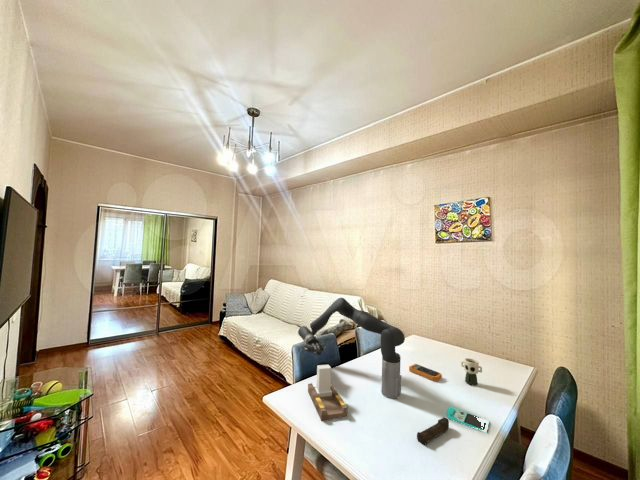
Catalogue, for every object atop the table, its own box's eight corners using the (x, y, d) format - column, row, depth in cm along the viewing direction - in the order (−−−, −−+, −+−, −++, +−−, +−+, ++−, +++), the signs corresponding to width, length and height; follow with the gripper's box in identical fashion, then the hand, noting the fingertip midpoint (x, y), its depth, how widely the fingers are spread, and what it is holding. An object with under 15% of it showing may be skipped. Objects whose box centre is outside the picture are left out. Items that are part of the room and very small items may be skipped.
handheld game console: (450, 408, 125) (450, 405, 125) (489, 423, 115) (489, 420, 115) (445, 418, 117) (445, 415, 117) (487, 435, 107) (487, 431, 107)
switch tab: (314, 391, 131) (315, 364, 132) (328, 389, 133) (329, 363, 134) (317, 397, 125) (318, 370, 126) (332, 395, 127) (333, 368, 128)
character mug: (458, 381, 151) (459, 359, 152) (463, 378, 156) (463, 356, 157) (480, 389, 143) (480, 365, 144) (483, 385, 148) (484, 362, 149)
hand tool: (425, 448, 98) (425, 435, 98) (416, 441, 102) (416, 428, 102) (454, 432, 108) (454, 420, 108) (445, 426, 111) (445, 415, 111)
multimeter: (436, 383, 149) (436, 377, 149) (408, 371, 163) (408, 366, 163) (443, 379, 155) (443, 373, 155) (415, 368, 169) (415, 362, 169)
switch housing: (307, 391, 134) (308, 383, 134) (329, 389, 138) (330, 381, 138) (321, 420, 111) (321, 410, 111) (347, 416, 115) (347, 407, 115)
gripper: (301, 336, 158) (307, 347, 141) (322, 335, 161) (331, 345, 145) (300, 349, 157) (307, 361, 141) (321, 347, 161) (330, 359, 144)
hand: (319, 353), depth 143 cm, fingers closed
